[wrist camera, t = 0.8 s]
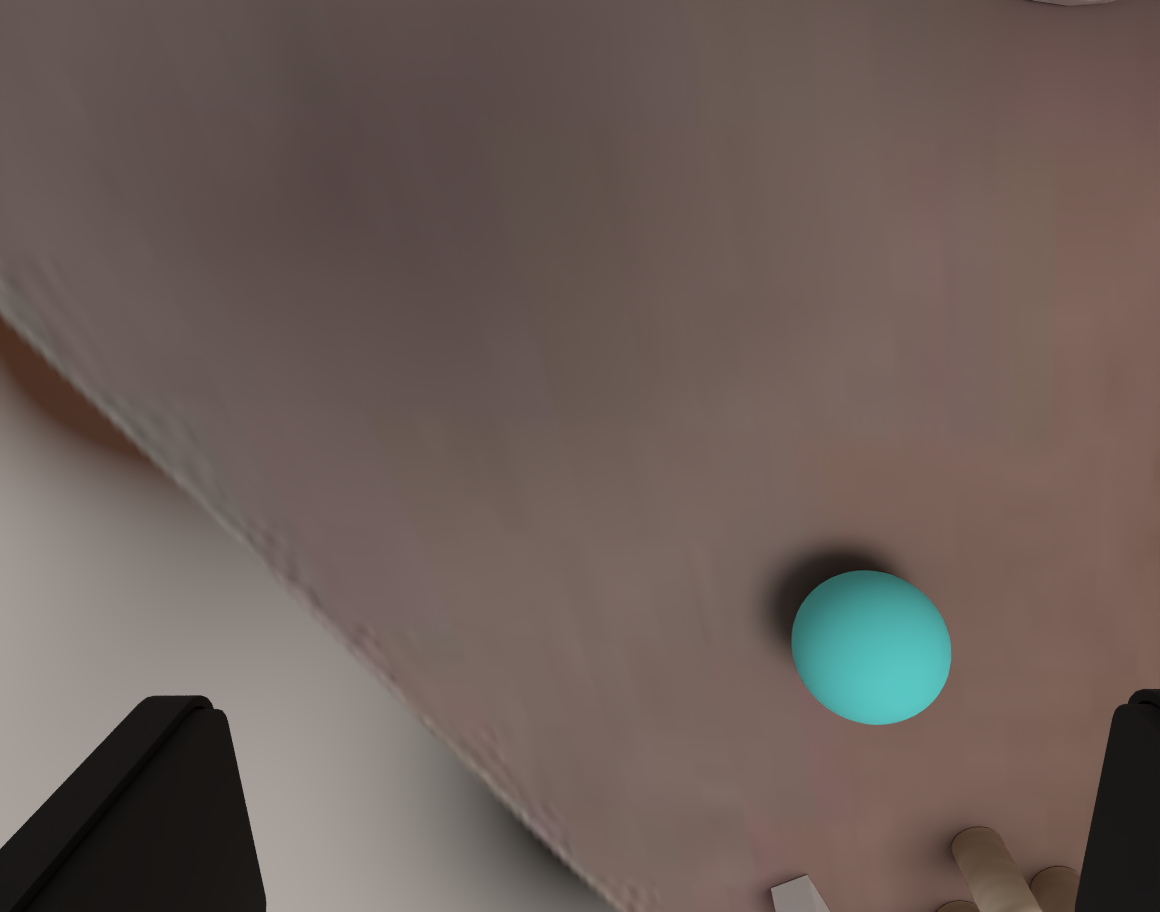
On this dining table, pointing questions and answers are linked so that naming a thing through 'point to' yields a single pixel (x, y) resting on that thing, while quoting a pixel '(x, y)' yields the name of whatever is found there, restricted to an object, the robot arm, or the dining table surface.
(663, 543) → the dining table surface
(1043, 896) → the pin
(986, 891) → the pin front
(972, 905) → the pin
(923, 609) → the ball
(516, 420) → the dining table surface
